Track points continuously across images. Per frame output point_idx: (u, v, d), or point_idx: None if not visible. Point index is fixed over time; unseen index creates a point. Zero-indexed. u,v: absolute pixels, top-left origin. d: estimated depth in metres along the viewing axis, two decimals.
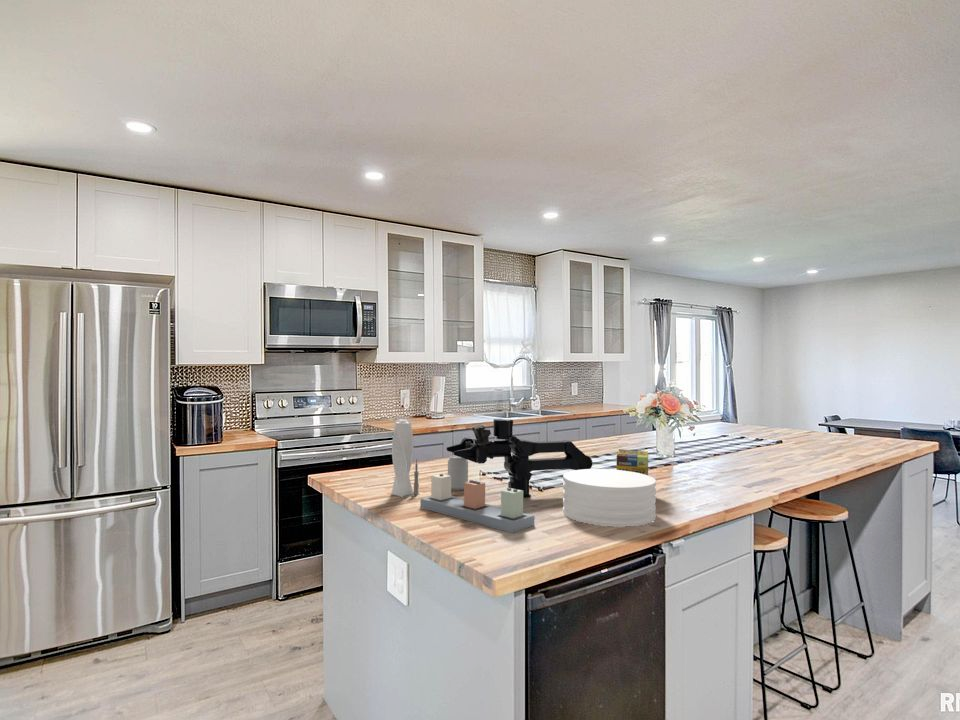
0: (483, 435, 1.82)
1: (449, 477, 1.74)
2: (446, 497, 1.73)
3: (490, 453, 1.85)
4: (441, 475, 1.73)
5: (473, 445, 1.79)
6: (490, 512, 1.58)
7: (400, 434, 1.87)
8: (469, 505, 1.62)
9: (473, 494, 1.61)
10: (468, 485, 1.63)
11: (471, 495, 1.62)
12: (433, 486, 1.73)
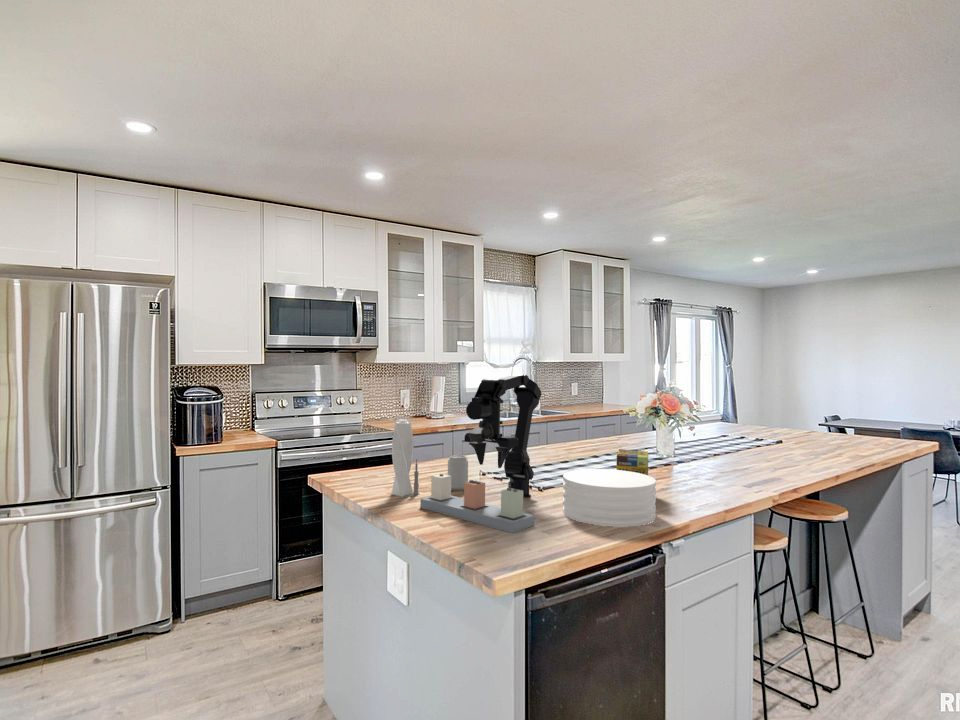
0: (489, 436, 1.68)
1: (449, 477, 1.74)
2: (446, 497, 1.73)
3: (499, 424, 1.74)
4: (441, 475, 1.73)
5: (498, 449, 1.69)
6: (490, 512, 1.58)
7: (400, 434, 1.87)
8: (469, 505, 1.62)
9: (473, 494, 1.61)
10: (468, 485, 1.63)
11: (471, 495, 1.62)
12: (433, 486, 1.73)
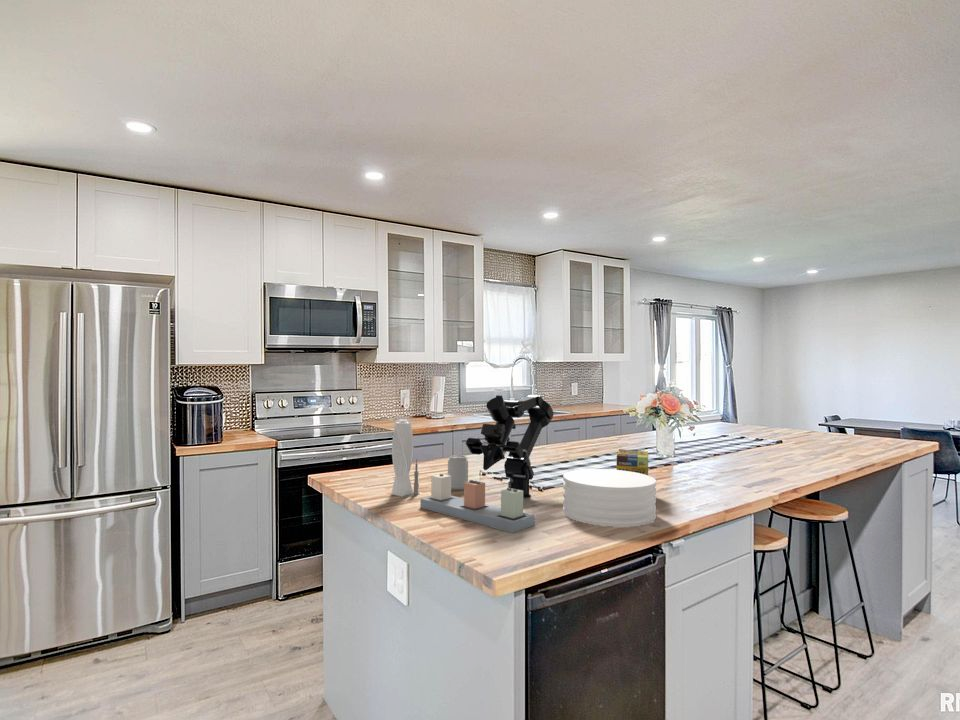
0: (502, 433, 1.71)
1: (449, 477, 1.74)
2: (446, 497, 1.73)
3: (507, 438, 1.77)
4: (441, 475, 1.73)
5: (494, 448, 1.71)
6: (490, 512, 1.58)
7: (400, 434, 1.87)
8: (469, 505, 1.62)
9: (473, 494, 1.61)
10: (468, 485, 1.63)
11: (471, 495, 1.62)
12: (433, 486, 1.73)
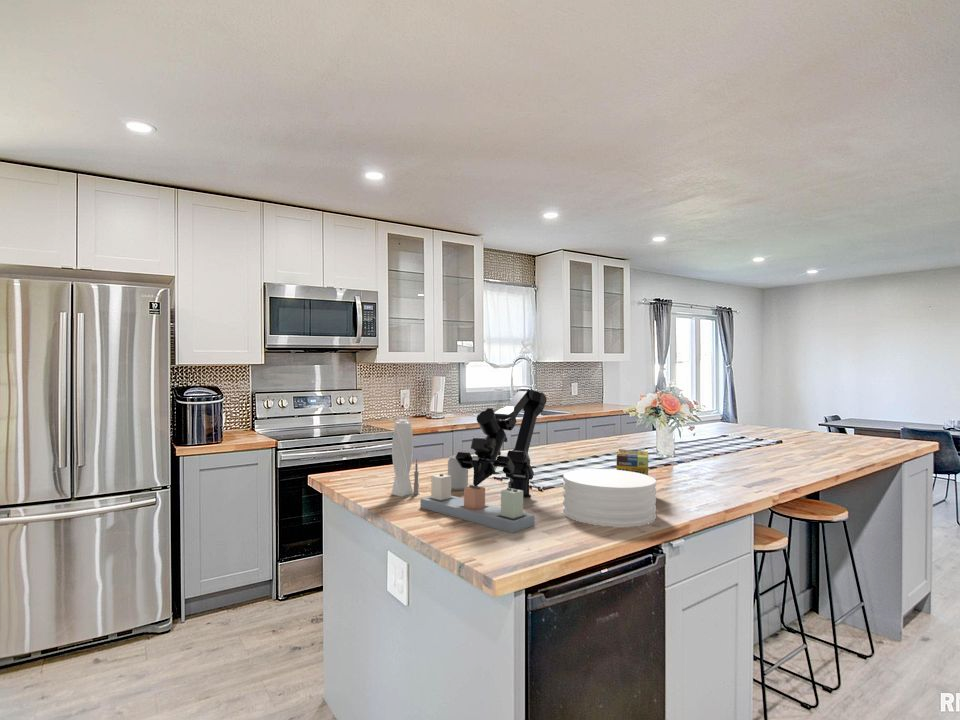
0: (493, 447, 1.65)
1: (449, 477, 1.74)
2: (446, 497, 1.73)
3: (498, 452, 1.72)
4: (441, 475, 1.73)
5: (484, 463, 1.66)
6: (490, 512, 1.58)
7: (400, 434, 1.87)
8: None
9: (473, 499, 1.61)
10: (468, 490, 1.63)
11: (471, 500, 1.62)
12: (433, 486, 1.73)
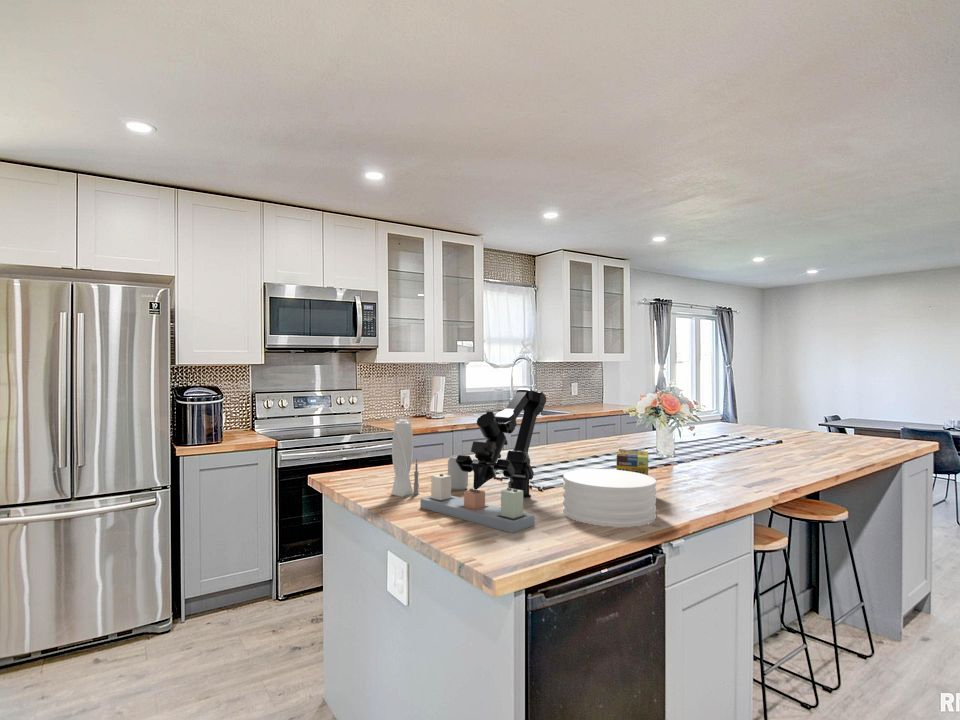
0: (493, 451, 1.65)
1: (449, 477, 1.74)
2: (446, 497, 1.73)
3: (499, 455, 1.72)
4: (441, 475, 1.73)
5: (484, 467, 1.66)
6: (490, 512, 1.58)
7: (400, 434, 1.87)
8: None
9: (473, 503, 1.61)
10: (468, 494, 1.63)
11: (471, 504, 1.62)
12: (433, 486, 1.73)
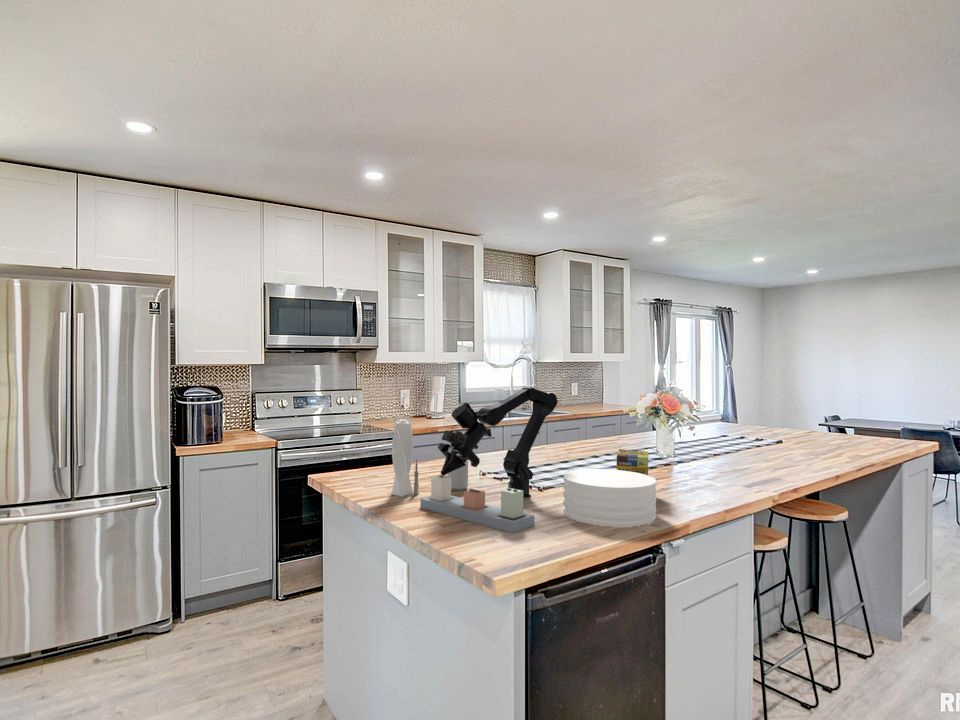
0: (458, 440, 1.73)
1: (449, 478, 1.74)
2: (446, 498, 1.73)
3: (473, 445, 1.78)
4: (441, 476, 1.73)
5: (452, 455, 1.74)
6: (490, 512, 1.58)
7: (400, 434, 1.87)
8: None
9: (473, 503, 1.61)
10: (468, 494, 1.63)
11: (471, 504, 1.62)
12: (433, 487, 1.73)
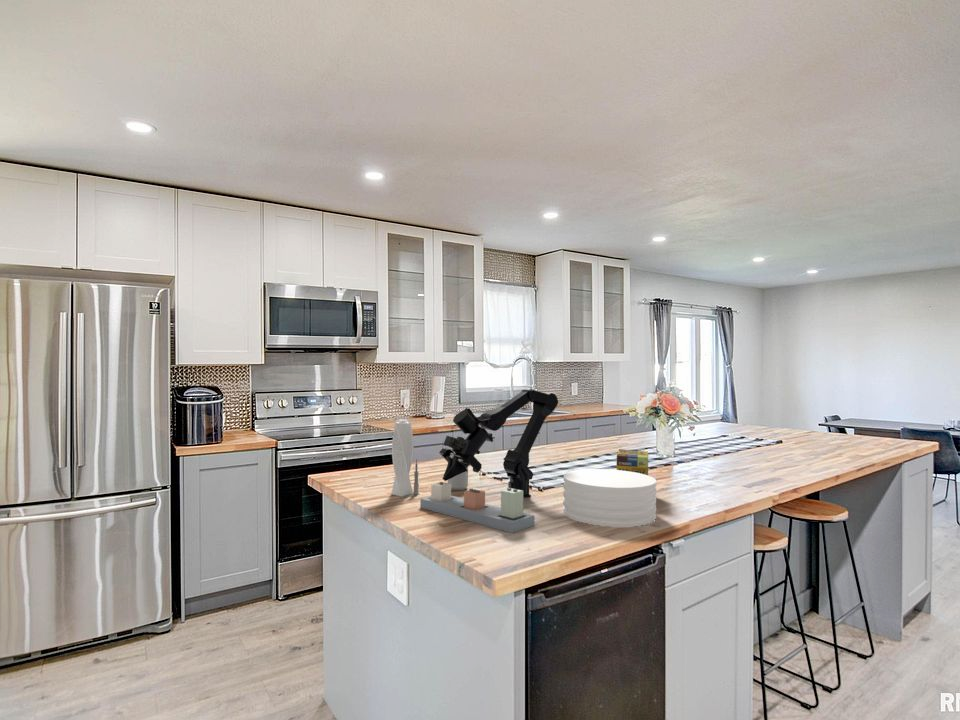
0: (460, 446, 1.73)
1: (449, 485, 1.73)
2: None
3: (475, 451, 1.78)
4: (441, 483, 1.73)
5: (454, 460, 1.75)
6: (490, 512, 1.58)
7: (400, 434, 1.87)
8: None
9: (473, 503, 1.61)
10: (468, 494, 1.63)
11: (471, 504, 1.62)
12: (433, 494, 1.73)
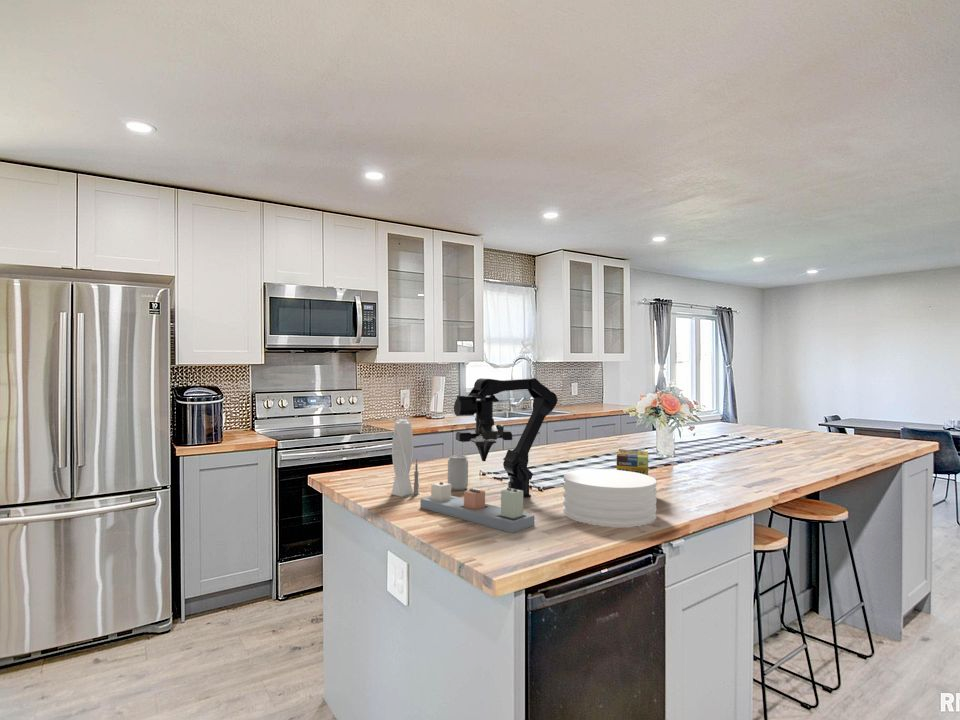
0: None
1: (449, 485, 1.73)
2: None
3: None
4: (441, 483, 1.73)
5: (491, 443, 1.83)
6: (490, 512, 1.58)
7: (400, 434, 1.87)
8: None
9: (473, 503, 1.61)
10: (468, 494, 1.63)
11: (471, 504, 1.62)
12: (433, 494, 1.73)
